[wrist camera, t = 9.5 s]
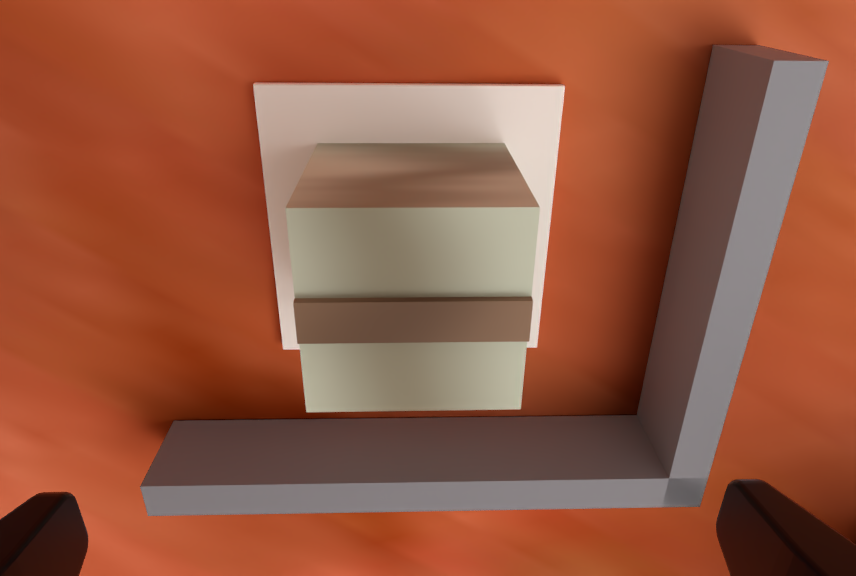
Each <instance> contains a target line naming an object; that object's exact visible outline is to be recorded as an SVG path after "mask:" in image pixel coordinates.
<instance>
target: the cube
mask: <svg viewBox="0 0 856 576" xmlns="http://www.w3.org/2000/svg"><path fill="white" fill-rule="evenodd" d="M285 209H286V219H287V229H288V239H289V248H290V258H291V268H292V278H293V287H294V297H295V299H294V302H293V307H294V317H295V326H296V336H297V344H299V346H300V356H301V366H302V375H303V385H304V395H305V405H306V412H365V411H438V410H510V409H521V401H522V391H523V380H524V370H525V360H526V349H527V342H529V339H530V329H531V319H532V308H533V299H532V286H533V276H534V265H535V255H536V244H537V234H538V223H539V213H540V206H539V205H538V203H537V201H536V199H535V197H534V195H533V194H532V192H531V190H530V188H529V186H528V185H527V183H526V181H525V179H524V177H523V176H522V174H521V172H520V170H519V168H518V167H517V165H516V163H515V161H514V159H513V158H512V156H511V154H510V152H509V150H508V149H507V147H506V145H505V143H317V145H316V147H315V149H314V151H313V153H312V155H311V157H310V159H309V161H308V163H307V165H306V167H305V169H304V171H303V174H302V176H301V178H300V180H299V182H298V184H297V186H296V188H295V190H294V192H293V194H292V196H291V198H290V200H289V202H288V204H287V206H286V208H285Z"/></svg>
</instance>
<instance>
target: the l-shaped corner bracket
mask: <svg viewBox="0 0 856 576" xmlns="http://www.w3.org/2000/svg"><path fill="white" fill-rule="evenodd" d="M828 62H829V61H826V60H822V59H817V58H813V57H809V56H804V55H800V54H795V53H791V52H787V51H782V50H778V49H773V48H769V47H765V46H760V45H713V48H712V53H711V58H710V62H709V67H708V72H707V77H706V82H705V87H704V91H703V96H702V101H701V106H700V111H699V116H698V120H697V125H696V130H695V135H694V140H693V145H692V150H691V154H690V159H689V164H688V169H687V174H686V179H685V183H684V188H683V193H682V198H681V203H680V208H679V212H678V217H677V222H676V227H675V232H674V237H673V241H672V246H671V251H670V256H669V261H668V266H667V271H666V275H665V280H664V285H663V290H662V295H661V300H660V304H659V309H658V314H657V319H656V324H655V329H654V333H653V338H652V343H651V348H650V353H649V358H648V362H647V367H646V372H645V377H644V382H643V387H642V392H641V396H640V401H639V406H638V411H637V415H607V416H523V417H438V418H354V419H270V420H185V421H173V423H172V425H171V427H170V429H169V431H168V433H167V435H166V437H165V439H164V441H163V443H162V445H161V447H160V449H159V451H158V453H157V455H156V457H155V459H154V460H153V462H152V464H151V466H150V468H149V470H148V472H147V474H146V476H145V478H144V480H143V482H142V484H141V486H140V488H141V491H142V495H143V499H144V502H145V506H146V510H147V513H148V516H173V515H232V514H292V513H351V512H411V511H470V510H529V509H589V508H648V507H700V504H701V501H702V497H703V494H704V490H705V487H706V483H707V480H708V476H709V473H710V470H711V466H712V463H713V459H714V456H715V452H716V449H717V445H718V442H719V438H720V435H721V432H722V428H723V425H724V421H725V418H726V414H727V411H728V407H729V404H730V400H731V397H732V394H733V390H734V387H735V383H736V380H737V376H738V373H739V369H740V366H741V362H742V359H743V356H744V352H745V349H746V345H747V342H748V338H749V335H750V331H751V328H752V324H753V321H754V318H755V314H756V311H757V307H758V304H759V300H760V297H761V293H762V290H763V286H764V283H765V280H766V276H767V273H768V269H769V266H770V262H771V259H772V255H773V252H774V249H775V245H776V242H777V238H778V235H779V231H780V228H781V224H782V221H783V217H784V214H785V211H786V207H787V204H788V200H789V197H790V193H791V190H792V186H793V183H794V179H795V176H796V173H797V169H798V166H799V162H800V159H801V155H802V152H803V148H804V145H805V141H806V138H807V135H808V131H809V128H810V124H811V121H812V117H813V114H814V110H815V107H816V103H817V100H818V97H819V93H820V90H821V86H822V83H823V79H824V76H825V72H826V69H827V65H828ZM253 89H254V97H255V106H256V115H257V124H258V133H259V141H260V150H261V159H262V168H263V177H264V186H265V194H266V203H267V212H268V221H269V230H270V238H271V247H272V256H273V265H274V274H275V282H276V291H277V300H278V309H279V318H280V326H281V335H282V344H283V350H291V349H300V346H299V344H297V336H296V326H295V317H294V307H293V302H294V299H295V297H294V287H293V278H292V268H291V258H290V248H289V239H288V229H287V219H286V209H285V208H286V206H287V204H288V202H289V200H290V198H291V196H292V194H293V192H294V190H295V188H296V186H297V184H298V182H299V180H300V178H301V176H302V174H303V171H304V169H305V167H306V165H307V163H308V161H309V159H310V157H311V155H312V153H313V151H314V149H315V147H316V145H317V143H505V145H506V147H507V149H508V150H509V152H510V154H511V156H512V158H513V159H514V161H515V163H516V165H517V167H518V168H519V170H520V172H521V174H522V176H523V177H524V179H525V181H526V183H527V185H528V186H529V188H530V190H531V192H532V194H533V195H534V197H535V199H536V201H537V203H538V205H539V206H540V213H539V223H538V234H537V244H536V255H535V265H534V276H533V286H532V299H533V308H532V319H531V329H530V339H529V342H527V348H535V347H537V342H538V333H539V324H540V314H541V305H542V296H543V286H544V277H545V268H546V259H547V249H548V240H549V231H550V221H551V212H552V203H553V194H554V184H555V175H556V166H557V156H558V147H559V138H560V129H561V119H562V110H563V101H564V91H565V86H564V85H563V84H432V83H263V82H255V83H254V84H253Z"/></svg>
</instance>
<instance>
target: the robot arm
mask: <svg viewBox="0 0 856 576" xmlns="http://www.w3.org/2000/svg"><path fill="white" fill-rule="evenodd" d="M716 531H717V537H718V540H719V543H720V546H721V549H722V552H723V555H724V558H725V561H726V564H727V567H728V570H729V573H730V576H856V544H854V543H853V542H851V541H850V540H849V539H847V538H846V537H844V536H843V535H841V534H840V533H839V532H837V531H836V530H834V529H833V528H831V527H830V526H828V525H827V524H826V523H824V522H823V521H821V520H820V519H818V518H817V517H816V516H814V515H813V514H811V513H810V512H808V511H807V510H805V509H804V508H803V507H801V506H800V505H798V504H797V503H795V502H794V501H793V500H791V499H790V498H788V497H787V496H785V495H784V494H782V493H781V492H780V491H778V490H777V489H775V488H774V487H772V486H771V485H770V484H768V483H766V482H765V481H762V480H758V479H742V480H733V481H731V482H730V483H729V484H728V486H727V489H726V492H725V495H724V499H723V502H722V505H721V508H720V512H719V515H718V518H717V523H716ZM87 548H88V534H87V530H86V527H85V524H84V521H83V518H82V516H81V513H80V510H79V507H78V504H77V501H76V499H75V497H74V496H73V495H72V494H71V493H68V492H43V493H39V494H36V495H35V496H33V497H31V498H30V499H28V500H27V501H26V502H24V503H23V504H21V505H20V506H19V507H17V508H16V509H14V510H13V511H12V512H10V513H9V514H7V515H6V516H5V517H3V518H2V519H0V576H79V574H80V571H81V568H82V565H83V562H84V559H85V556H86V552H87Z"/></svg>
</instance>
